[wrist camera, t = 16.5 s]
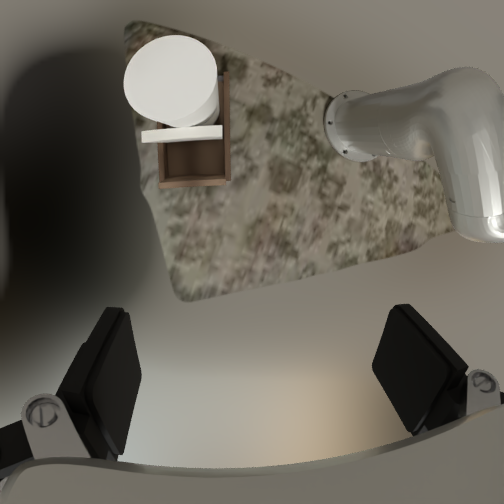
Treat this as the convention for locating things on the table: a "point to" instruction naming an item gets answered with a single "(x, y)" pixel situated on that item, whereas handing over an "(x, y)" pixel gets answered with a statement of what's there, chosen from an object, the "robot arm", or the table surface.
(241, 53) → the table surface
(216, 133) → the block
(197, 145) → the brown wooden tray
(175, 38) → the cylindrical container
